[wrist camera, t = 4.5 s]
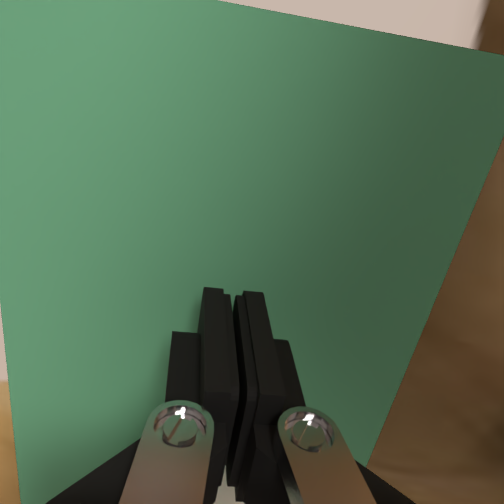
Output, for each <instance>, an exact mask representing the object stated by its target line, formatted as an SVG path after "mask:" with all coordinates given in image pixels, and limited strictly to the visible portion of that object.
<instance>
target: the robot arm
mask: <svg viewBox="0 0 504 504" xmlns="http://www.w3.org/2000/svg"><path fill="white" fill-rule="evenodd" d="M225 465H226V481H227V486H228V487H235V502H244V503H245V504H416V503H414V502H413V501H411V500H410V499H409V498H407V497H406V496H404V495H403V494H402V493H400V492H399V491H398V490H396V489H395V488H393V487H392V486H391V485H389V484H388V483H386V482H385V481H384V480H382V479H381V478H380V477H378V476H377V475H375V474H374V473H373V472H371V471H370V470H368V469H367V468H366V467H364V466H363V465H361V464H360V463H359V462H357V461H356V460H355V459H354V458H353V456H352V454H351V452H350V450H349V448H348V446H347V444H346V442H345V440H344V438H343V436H342V434H341V432H340V430H339V428H338V427H337V425H336V424H335V422H334V421H333V420H332V419H331V418H330V417H329V416H327V415H326V414H325V413H323V412H321V411H319V410H317V409H314V408H310V407H306V404H305V400H304V396H303V393H302V389H301V385H300V381H299V377H298V374H297V370H296V366H295V362H294V358H293V355H292V351H291V347H290V344H289V341H288V340H283V339H273V334H272V330H271V325H270V320H269V316H268V311H267V307H266V302H265V297H264V294H263V292H255V291H243V293H242V295H236V296H235V300H234V305H233V311H232V304H231V295H230V294H224V290H223V288H212V287H204V288H203V294H202V301H201V309H200V316H199V323H198V330H197V333H191V332H178V331H172V337H171V346H170V356H169V365H168V374H167V384H166V394H165V403H164V404H161V405H159V406H158V407H157V408H155V409H154V410H153V411H152V412H151V414H150V415H149V417H148V419H147V421H146V424H145V427H144V430H143V433H142V436H141V438H140V439H138V440H137V441H135V442H134V443H133V444H131V445H130V446H128V447H127V448H125V449H124V450H122V451H121V452H119V453H118V454H116V455H115V456H114V457H112V458H111V459H109V460H108V461H106V462H105V463H103V464H102V465H100V466H99V467H97V468H96V469H95V470H93V471H92V472H90V473H89V474H87V475H86V476H84V477H83V478H81V479H80V480H78V481H77V482H76V483H74V484H73V485H71V486H70V487H68V488H67V489H65V490H64V491H62V492H61V493H59V494H58V495H57V496H55V497H54V498H52V499H51V500H49V501H48V502H47V503H46V504H213V503H214V502H215V501H216V496H217V491H218V487H219V486H221V484H222V479H223V474H224V469H225Z"/></svg>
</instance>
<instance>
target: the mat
mask: <svg viewBox="0 0 504 504" xmlns="http://www.w3.org/2000/svg"><path fill="white" fill-rule="evenodd" d="M503 137H504V55H500V54H495V53H490V52H485V51H479V50H474V49H469V48H464V47H458V46H453V45H448V44H443V43H438V42H432V41H427V40H422V39H417V38H411V37H406V36H401V35H395V34H391V33H385V32H380V31H374V30H369V29H364V28H359V27H354V26H349V25H344V24H338V23H333V22H328V21H323V20H317V19H312V18H307V17H301V16H297V15H291V14H286V13H280V12H275V11H270V10H265V9H260V8H255V7H250V6H244V5H239V4H233V3H228V2H223V1H218V0H0V303H1V312H2V323H3V333H4V343H5V352H6V362H7V372H8V382H9V392H10V402H11V411H12V421H13V431H14V441H15V450H16V460H17V470H18V480H19V490H20V499H21V504H46V503H47V502H48V501H49V500H51V499H52V498H54V497H55V496H57V495H58V494H59V493H61V492H62V491H64V490H65V489H67V488H68V487H70V486H71V485H73V484H74V483H76V482H77V481H78V480H80V479H81V478H83V477H84V476H86V475H87V474H89V473H90V472H92V471H93V470H95V469H96V468H97V467H99V466H100V465H102V464H103V463H105V462H106V461H108V460H109V459H111V458H112V457H114V456H115V455H116V454H118V453H119V452H121V451H122V450H124V449H125V448H127V447H128V446H130V445H131V444H133V443H134V442H135V441H137V440H138V439H140V438H141V436H142V433H143V430H144V427H145V424H146V421H147V419H148V417H149V415H150V414H151V412H152V411H153V410H154V409H155V408H157V407H158V406H159V405H161V404H164V403H165V394H166V384H167V374H168V365H169V356H170V346H171V337H172V331H178V332H191V333H197V330H198V323H199V316H200V309H201V301H202V294H203V288H204V287H212V288H223V290H224V294H230V295H231V304H232V311H233V305H234V300H235V296H236V295H242V293H243V291H255V292H263V294H264V297H265V302H266V307H267V311H268V316H269V320H270V325H271V330H272V334H273V339H283V340H288V341H289V344H290V347H291V351H292V355H293V358H294V362H295V366H296V370H297V374H298V377H299V381H300V385H301V389H302V393H303V396H304V400H305V404H306V407H310V408H314V409H317V410H319V411H321V412H323V413H325V414H326V415H327V416H329V417H330V418H331V419H332V420H333V421H334V422H335V424H336V425H337V427H338V428H339V430H340V432H341V434H342V436H343V438H344V440H345V442H346V444H347V446H348V448H349V450H350V452H351V454H352V456H353V458H354V459H355V460H356V461H357V462H359V463H360V464H361V465H363V466H364V467H366V466H367V463H368V461H369V458H370V456H371V454H372V451H373V449H374V446H375V444H376V442H377V439H378V437H379V434H380V432H381V430H382V427H383V425H384V422H385V420H386V418H387V415H388V413H389V410H390V408H391V406H392V403H393V401H394V398H395V396H396V394H397V391H398V389H399V386H400V384H401V382H402V379H403V377H404V374H405V372H406V370H407V367H408V365H409V362H410V360H411V358H412V355H413V353H414V350H415V348H416V346H417V343H418V341H419V338H420V336H421V334H422V331H423V329H424V326H425V324H426V322H427V319H428V317H429V314H430V312H431V310H432V307H433V305H434V302H435V300H436V298H437V295H438V293H439V290H440V288H441V286H442V283H443V281H444V278H445V276H446V274H447V271H448V269H449V266H450V264H451V261H452V259H453V257H454V254H455V252H456V249H457V247H458V245H459V242H460V240H461V237H462V235H463V233H464V230H465V228H466V225H467V223H468V221H469V218H470V216H471V213H472V211H473V209H474V206H475V204H476V201H477V199H478V197H479V194H480V192H481V189H482V187H483V185H484V182H485V180H486V177H487V175H488V173H489V170H490V168H491V165H492V163H493V161H494V158H495V156H496V153H497V151H498V149H499V146H500V144H501V141H502V139H503Z"/></svg>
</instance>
